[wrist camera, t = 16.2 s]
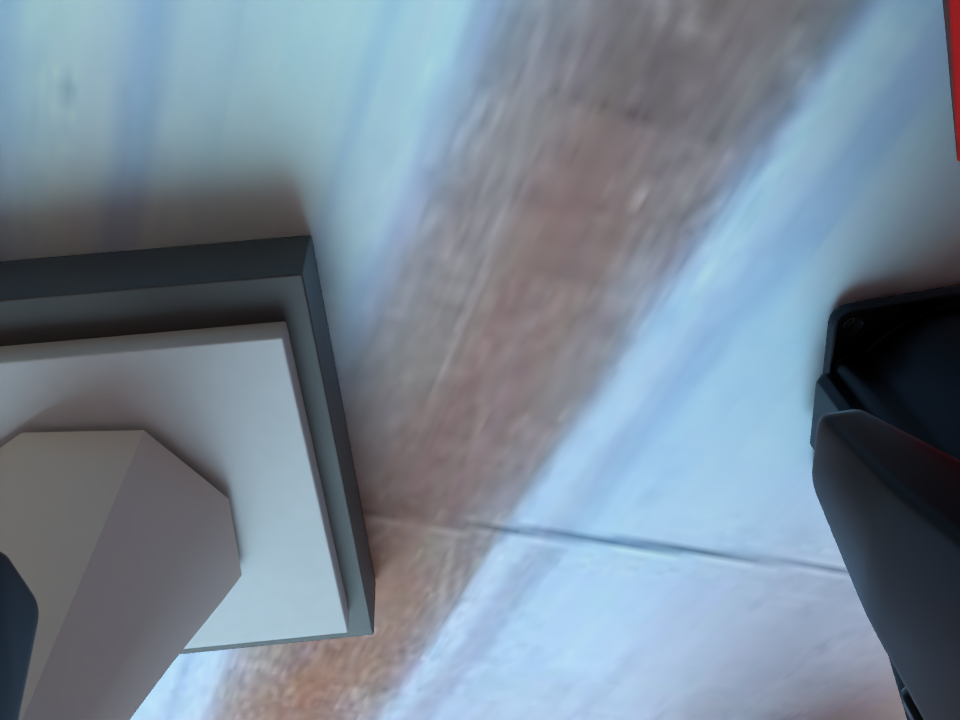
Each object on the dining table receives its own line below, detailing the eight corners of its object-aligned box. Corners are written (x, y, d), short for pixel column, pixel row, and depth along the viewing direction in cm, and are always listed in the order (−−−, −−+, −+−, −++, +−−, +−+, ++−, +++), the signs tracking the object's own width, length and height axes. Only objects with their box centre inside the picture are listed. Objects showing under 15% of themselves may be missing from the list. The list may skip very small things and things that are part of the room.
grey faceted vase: (56, 642, 24) (-124, 1072, 16) (-108, 464, 20) (-462, 912, 12) (286, 580, 24) (223, 994, 15) (162, 384, 20) (-14, 798, 11)
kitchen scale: (311, 234, 21) (298, 290, 19) (375, 582, 28) (373, 656, 26) (-208, 278, 21) (-293, 341, 18) (-9, 620, 28) (-50, 699, 25)
